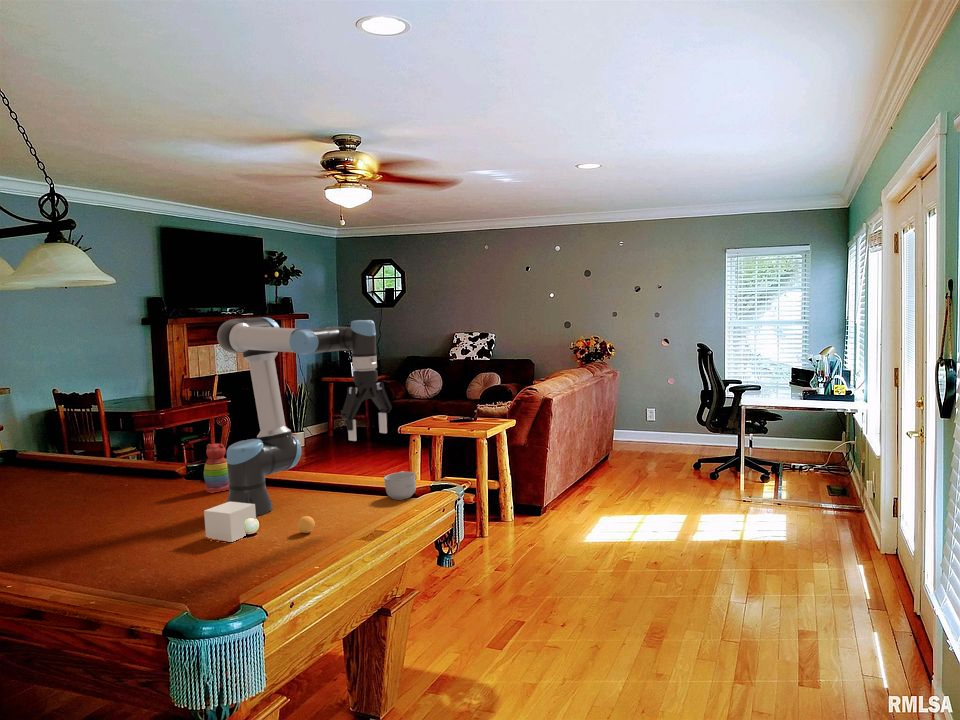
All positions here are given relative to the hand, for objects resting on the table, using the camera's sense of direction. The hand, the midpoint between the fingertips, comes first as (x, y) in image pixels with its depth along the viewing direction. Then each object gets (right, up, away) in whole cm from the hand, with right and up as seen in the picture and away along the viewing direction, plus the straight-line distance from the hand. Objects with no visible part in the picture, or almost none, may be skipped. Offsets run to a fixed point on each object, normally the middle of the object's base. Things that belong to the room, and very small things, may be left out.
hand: (368, 436), depth 232 cm
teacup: (+8, -24, +25) cm, 35 cm away
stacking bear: (-63, -25, +46) cm, 82 cm away
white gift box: (-39, -29, -12) cm, 50 cm away
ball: (-17, -25, -12) cm, 32 cm away
